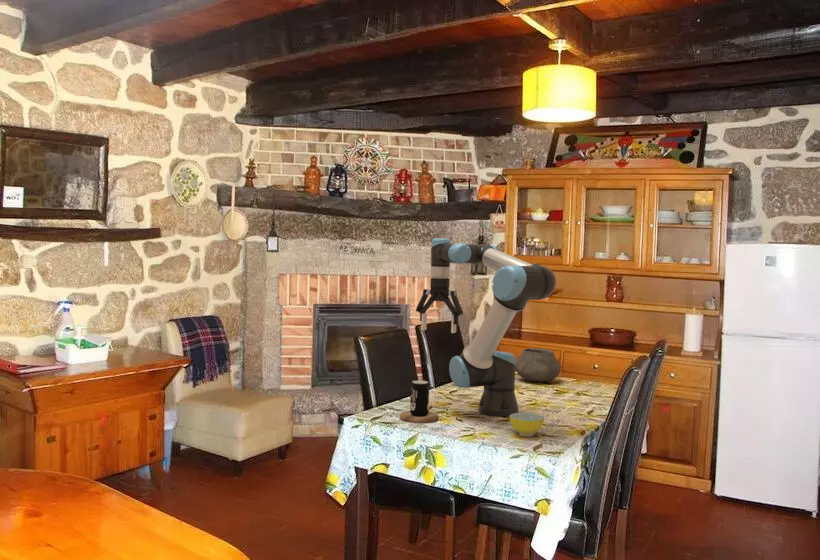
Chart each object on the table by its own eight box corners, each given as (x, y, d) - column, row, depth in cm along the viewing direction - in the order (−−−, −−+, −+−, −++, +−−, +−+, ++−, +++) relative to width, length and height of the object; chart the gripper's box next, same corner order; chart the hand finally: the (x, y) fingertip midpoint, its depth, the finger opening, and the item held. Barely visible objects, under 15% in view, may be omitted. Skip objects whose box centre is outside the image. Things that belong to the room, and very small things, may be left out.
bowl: (505, 436, 230) (506, 418, 230) (513, 428, 241) (513, 411, 241) (540, 441, 226) (540, 421, 226) (546, 432, 237) (546, 414, 237)
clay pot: (564, 380, 340) (565, 349, 340) (554, 387, 321) (555, 354, 320) (520, 375, 349) (521, 345, 349) (508, 382, 330) (509, 350, 329)
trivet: (445, 417, 255) (445, 414, 255) (425, 425, 243) (425, 421, 243) (413, 412, 262) (413, 408, 262) (392, 419, 251) (392, 415, 251)
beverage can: (426, 417, 249) (427, 383, 248) (408, 416, 250) (409, 382, 250) (429, 413, 255) (430, 380, 255) (412, 412, 257) (413, 379, 256)
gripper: (472, 278, 274) (471, 333, 274) (418, 276, 287) (416, 328, 288) (463, 279, 267) (461, 334, 268) (408, 276, 281) (406, 329, 281)
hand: (438, 331), depth 278 cm, fingers open, 13 cm apart
